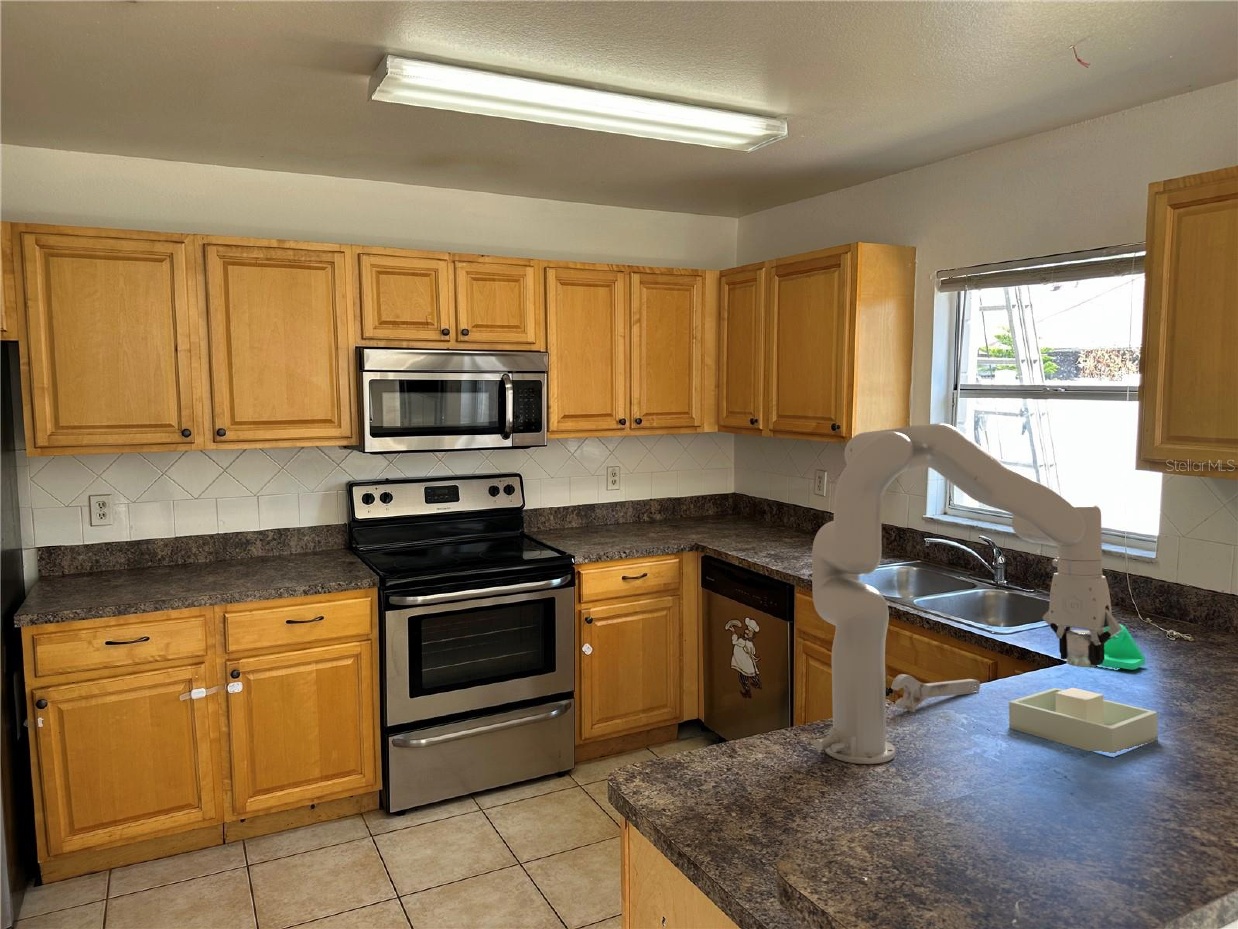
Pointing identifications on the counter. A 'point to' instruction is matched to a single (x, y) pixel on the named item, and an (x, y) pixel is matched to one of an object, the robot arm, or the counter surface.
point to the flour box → (1080, 704)
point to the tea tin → (1078, 648)
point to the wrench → (929, 690)
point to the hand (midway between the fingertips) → (1081, 660)
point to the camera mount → (1122, 651)
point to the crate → (1084, 724)
